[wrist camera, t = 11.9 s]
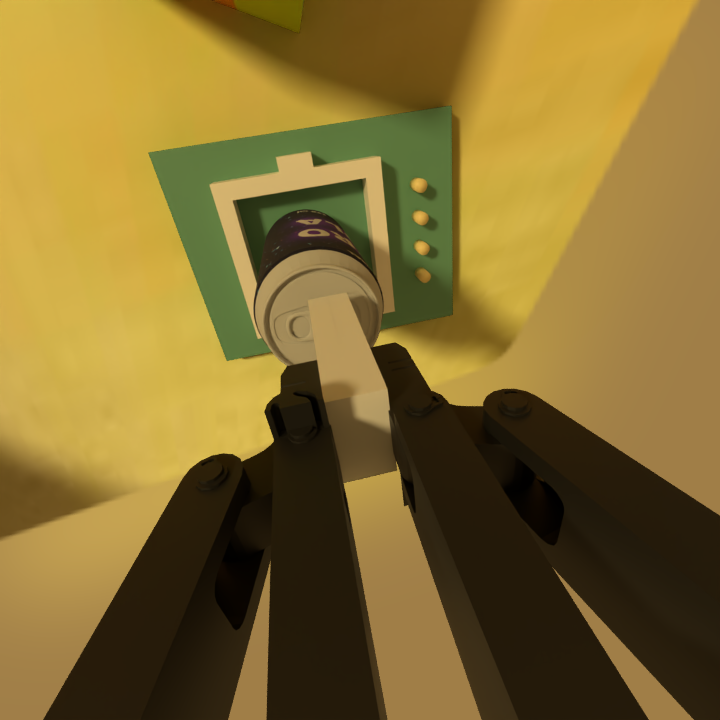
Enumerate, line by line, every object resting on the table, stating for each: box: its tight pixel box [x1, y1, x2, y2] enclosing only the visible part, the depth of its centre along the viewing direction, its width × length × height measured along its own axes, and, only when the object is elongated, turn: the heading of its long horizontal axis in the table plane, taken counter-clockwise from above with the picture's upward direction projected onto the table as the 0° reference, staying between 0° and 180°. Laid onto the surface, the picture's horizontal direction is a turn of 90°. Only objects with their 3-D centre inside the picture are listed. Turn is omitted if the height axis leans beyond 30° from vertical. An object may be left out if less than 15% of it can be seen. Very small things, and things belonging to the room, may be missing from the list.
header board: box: [149, 106, 453, 361], centre depth 25 cm, size 18×14×3 cm
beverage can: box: [253, 209, 384, 366], centre depth 20 cm, size 6×6×12 cm
